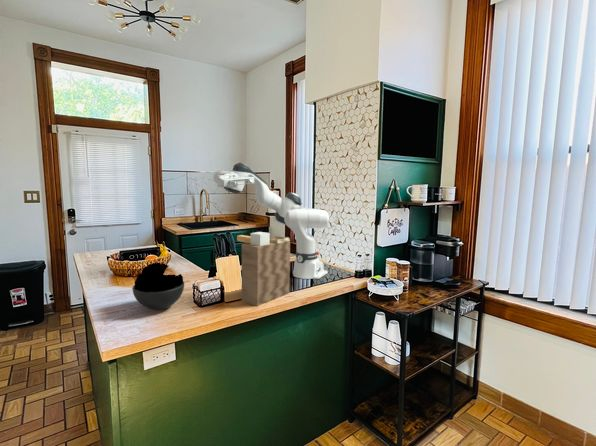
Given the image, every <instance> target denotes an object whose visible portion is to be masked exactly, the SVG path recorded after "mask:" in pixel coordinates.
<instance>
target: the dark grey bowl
mask: <svg viewBox="0 0 596 446" xmlns="http://www.w3.org/2000/svg"><path fill="white" fill-rule="evenodd" d="M169 267H170V266H169V265H168V264H166V263H164V262H162V263H160V262H152V263H149V264H148V265H146V266H144V267H142V269H141V272H140V273H138V274H137V277H136V279H135V280H134V285H133V286H132V287H131V288H132V294H133V296H134V298H135V300H136V301H137V303H138V304H140V305H141V306H143V307H144V308H146V309H150V310H155V311H157V310H163V309H167V308H170V307H171V306H172V305H174V304H175V303H176V302H177V301H179V299H180V298H181V296H182V294H183V292H184V289H185V281H184V277H183V275H182V274H180V273H179V274H177V275H176V274H165V272H166V270H167V269H168V268H169Z"/></svg>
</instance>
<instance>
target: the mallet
mask: <svg viewBox="0 0 596 446" xmlns="http://www.w3.org/2000/svg"><path fill="white" fill-rule="evenodd" d="M270 236H271V235H270V232H263V231H256V232H250V235H243V234H239V235H237V236H236V241H237V242H240V243H245V244H247V243H251V244H252V245H257V246H263V245H268V244H270V239H271V238H270Z"/></svg>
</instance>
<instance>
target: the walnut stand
mask: <svg viewBox="0 0 596 446" xmlns="http://www.w3.org/2000/svg"><path fill="white" fill-rule="evenodd" d="M290 261H291V238H290V237H288V236H280V235H274V238H270V244H268V245H263V246H257V245H252V244H251V243H242V244H241V302H244V303H247V304H250V305H253V306H255V307H259V306H261V305H264V304H266V303H269V302H271V301H273V300H276V299H279V298H281V297H284V296H286V295H289V294H290V274H291V271H290V270H291V269H290V268H291V262H290Z"/></svg>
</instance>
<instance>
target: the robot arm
mask: <svg viewBox="0 0 596 446" xmlns="http://www.w3.org/2000/svg"><path fill="white" fill-rule="evenodd" d="M232 167H233V168H232V171H227V170H217V171H216V172H215V173H214V174H213V181H214V183H216V184H217V187H218V188H224V190H225V191H226V192H229V193H233V194H236V195H237V194H240V193H242V192H243V189H244V187H245V185H251V184H252V185H253V184H254V185H255V200H256V202H257V203H258V204H259V205H260V206H263V207H264V208H267V209H269V210H270V209H271V210H273V211H275V212H273V214H274V218H275V220H276V221H277V222H278V223H279V224H280V225H284V226H286V227H288V228H289V229H290V231H292V232H293V234H294V235H295V236H294V237H295V240H296V252H295V260H294V265H293V270H292V275H293V277H295V278H297V279H303V280H307V279H308V280H311V279H321V278H322V277H324V276H325V275H326V274H328V270H327V269H324V268H325V267H324V266H325V265H324V262H323V261H321V260H320V259H319V258H318V256H320V254H321V253H320V251H316V249H317V240H316V237H315V236H313V235H312V234H310V233H308V232H307V231H306V230H307V229H322V228H326V227H327V226H328V224H329V222H330V215H329V213H328V211H326V210H324V209H319V208H312V207H310V208H309V207H304V206H302V205H303V203H302V199H301V197H300V196H299V195H298V194H297V193H295V192H287V194H285V197H284V199H282V197H281V196H279V194H276V193H275V192H273V191H271V190H270V189H269V187H268V183H267V182H266V181H265V180H264V179H263V178H262V177H261V176H259V175H258V174H257V173H256V172H255V171H254V170H252V168H250V167H249V166H248V165H247V164H245V163H243V162H238V163H235V164H234V165H233V166H232Z"/></svg>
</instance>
